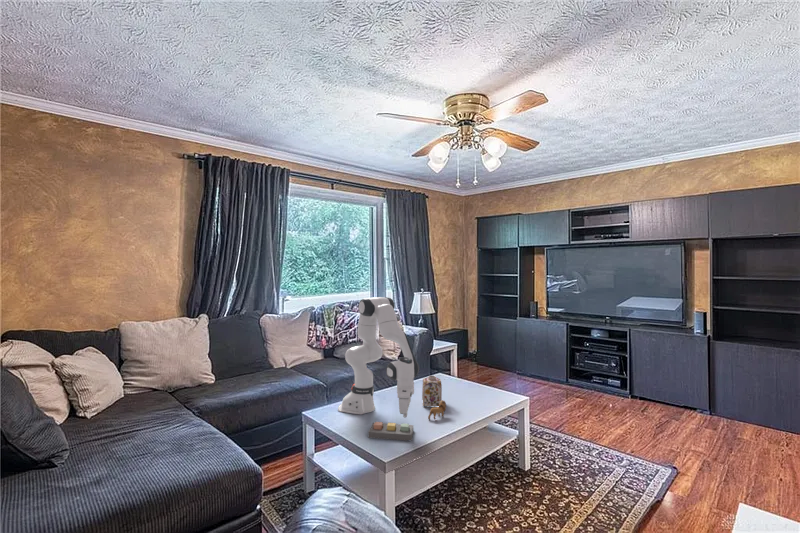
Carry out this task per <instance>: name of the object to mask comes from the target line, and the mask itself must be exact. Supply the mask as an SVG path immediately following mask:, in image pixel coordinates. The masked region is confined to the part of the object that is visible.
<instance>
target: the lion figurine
mask: <svg viewBox="0 0 800 533" xmlns="http://www.w3.org/2000/svg"><path fill="white" fill-rule="evenodd" d="M446 409H447V404H446V401H445V400H442V401H440V404H439V407H430V411H429V414H428V416H427V418H428V419H429V420H428V419H427V420H428V422H431V416H432V415H433V419H434V420H435V419H437V418H436V416H437V417H438V416H440V417H442V416H443V417H444V414H445V413H444V412H445V411H446Z"/></svg>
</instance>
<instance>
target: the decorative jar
mask: <svg viewBox="0 0 800 533" xmlns="http://www.w3.org/2000/svg"><path fill="white" fill-rule="evenodd" d="M442 386H443V385H442V379H441V378H439V377H437V376H436V375H428V377H424V378H422V391H421V393H422V394H421V397H422V398H421V400H423V403H422V407H423V406H439V404H440V401H442V399H443V398H442V396H443V394H442V391H443V389H442V388H443V387H442Z"/></svg>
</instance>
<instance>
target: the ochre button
mask: <svg viewBox="0 0 800 533" xmlns="http://www.w3.org/2000/svg"><path fill="white" fill-rule="evenodd" d="M387 424H388V425H387V430H392V431H395V430H396V424H397V423H396V422H387Z"/></svg>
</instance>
